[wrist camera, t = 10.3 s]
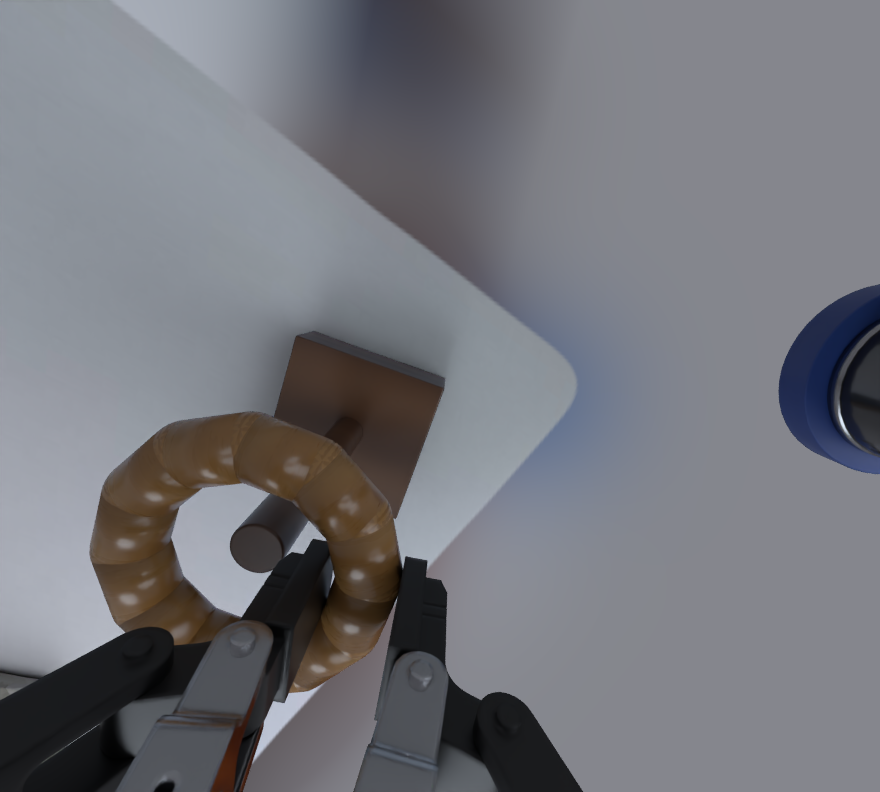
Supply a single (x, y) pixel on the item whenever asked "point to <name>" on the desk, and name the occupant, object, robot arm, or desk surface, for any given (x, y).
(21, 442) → the desk surface
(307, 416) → the peg stand
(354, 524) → the segmented donut ring
